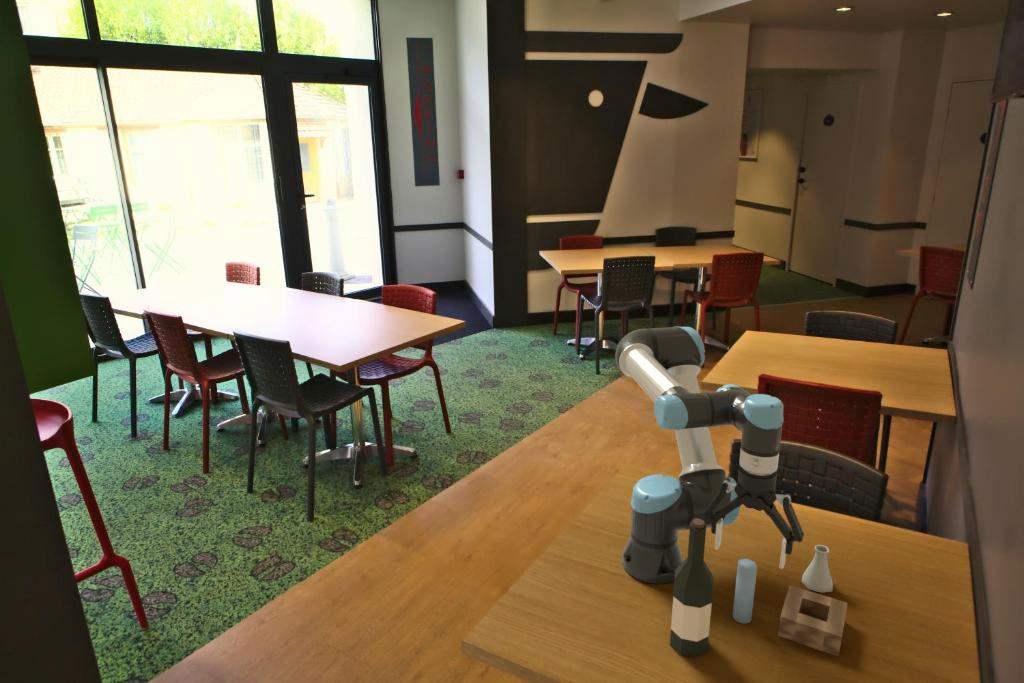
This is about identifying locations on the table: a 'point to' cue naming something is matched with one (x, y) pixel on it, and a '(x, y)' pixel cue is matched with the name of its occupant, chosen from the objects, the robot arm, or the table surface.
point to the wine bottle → (692, 597)
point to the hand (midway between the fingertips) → (749, 555)
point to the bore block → (813, 620)
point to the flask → (818, 572)
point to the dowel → (744, 590)
